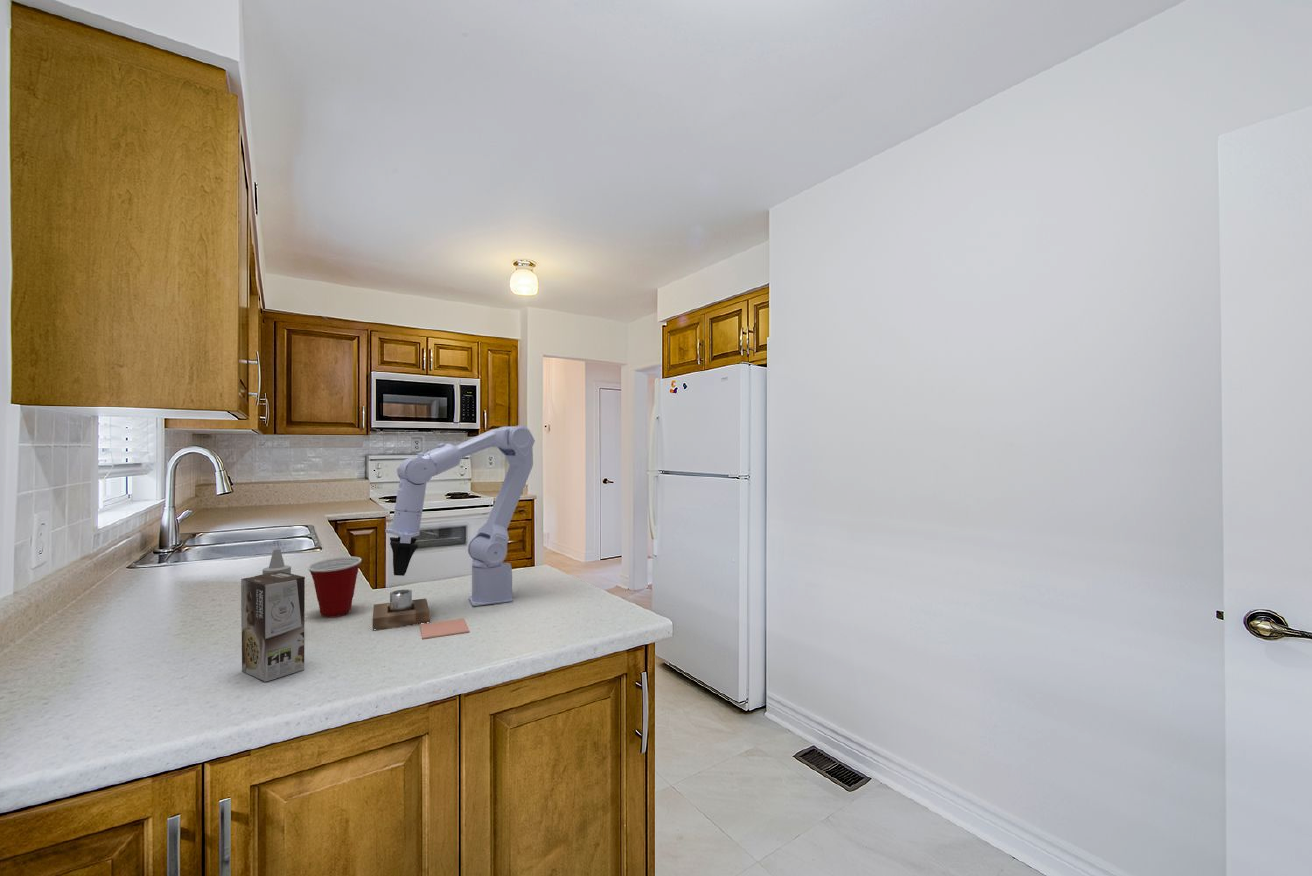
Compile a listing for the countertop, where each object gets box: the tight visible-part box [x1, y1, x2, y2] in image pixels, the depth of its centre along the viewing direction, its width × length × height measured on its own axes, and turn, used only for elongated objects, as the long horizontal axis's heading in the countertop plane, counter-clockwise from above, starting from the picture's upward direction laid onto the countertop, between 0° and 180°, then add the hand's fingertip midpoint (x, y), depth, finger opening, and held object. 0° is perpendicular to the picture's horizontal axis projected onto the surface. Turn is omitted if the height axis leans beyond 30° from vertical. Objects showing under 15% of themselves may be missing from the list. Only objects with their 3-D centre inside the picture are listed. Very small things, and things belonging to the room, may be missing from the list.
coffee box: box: [240, 571, 306, 683], centre depth 95 cm, size 9×6×16 cm
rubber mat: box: [419, 617, 471, 640], centre depth 116 cm, size 9×9×1 cm
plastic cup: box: [307, 556, 363, 618], centre depth 126 cm, size 11×11×12 cm
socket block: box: [372, 597, 431, 631], centre depth 122 cm, size 11×11×2 cm
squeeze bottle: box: [262, 548, 292, 574], centre depth 110 cm, size 8×8×18 cm
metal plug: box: [389, 589, 413, 613], centre depth 122 cm, size 4×4×6 cm
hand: (398, 572), depth 122 cm, fingers open, 7 cm apart
